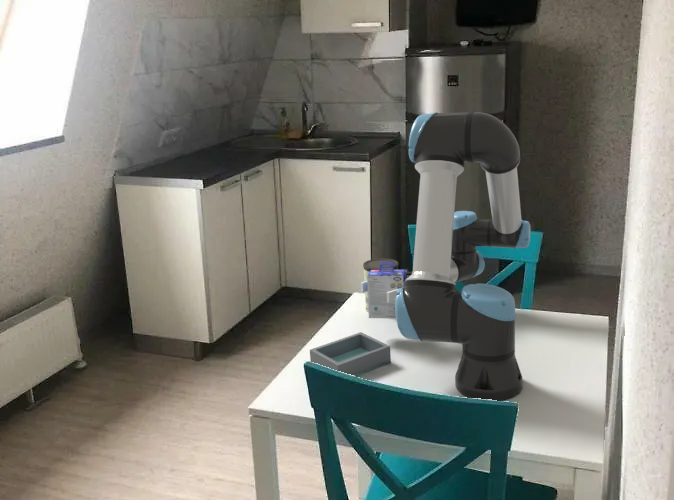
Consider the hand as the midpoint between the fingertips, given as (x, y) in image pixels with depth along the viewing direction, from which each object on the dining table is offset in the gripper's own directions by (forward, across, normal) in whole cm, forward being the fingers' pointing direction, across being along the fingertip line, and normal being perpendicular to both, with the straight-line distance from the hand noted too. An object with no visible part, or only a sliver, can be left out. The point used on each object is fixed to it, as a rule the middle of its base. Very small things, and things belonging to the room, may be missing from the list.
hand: (374, 292), depth 193 cm
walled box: (+13, -6, -14) cm, 20 cm away
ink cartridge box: (-4, 0, -8) cm, 9 cm away
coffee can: (-17, +18, -14) cm, 28 cm away
